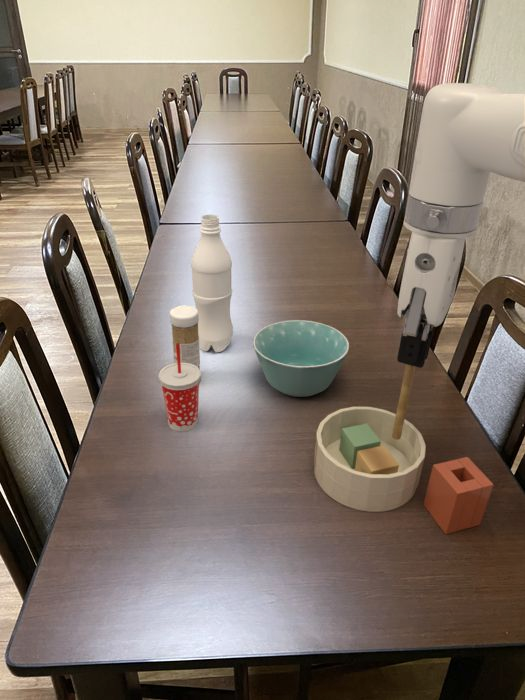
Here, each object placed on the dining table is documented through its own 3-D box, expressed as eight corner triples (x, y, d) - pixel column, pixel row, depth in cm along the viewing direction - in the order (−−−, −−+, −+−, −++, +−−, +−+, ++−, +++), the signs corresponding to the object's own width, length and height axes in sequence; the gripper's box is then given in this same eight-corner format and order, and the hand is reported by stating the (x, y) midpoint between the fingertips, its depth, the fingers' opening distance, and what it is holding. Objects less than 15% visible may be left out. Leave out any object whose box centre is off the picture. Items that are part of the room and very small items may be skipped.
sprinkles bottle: (173, 374, 94) (168, 305, 87) (199, 371, 95) (196, 303, 88) (176, 389, 90) (171, 318, 83) (203, 385, 91) (200, 315, 84)
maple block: (380, 467, 74) (384, 444, 72) (394, 487, 71) (399, 465, 69) (353, 472, 73) (357, 450, 71) (367, 494, 70) (371, 471, 68)
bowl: (235, 374, 95) (235, 333, 90) (306, 349, 102) (309, 311, 98) (287, 422, 83) (290, 378, 79) (363, 390, 91) (369, 349, 87)
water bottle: (194, 337, 105) (186, 211, 92) (230, 335, 106) (228, 210, 93) (196, 357, 99) (189, 225, 86) (235, 354, 100) (234, 223, 87)
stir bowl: (385, 430, 82) (390, 399, 79) (438, 498, 71) (447, 464, 67) (298, 449, 78) (301, 416, 75) (340, 523, 67) (345, 488, 64)
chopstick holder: (455, 496, 71) (467, 456, 67) (480, 525, 67) (493, 484, 63) (423, 504, 70) (433, 464, 66) (445, 534, 66) (457, 493, 62)
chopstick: (397, 433, 74) (421, 317, 64) (402, 438, 73) (427, 322, 63) (390, 434, 73) (412, 318, 64) (394, 440, 72) (418, 323, 63)
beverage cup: (160, 413, 85) (152, 336, 77) (198, 406, 86) (194, 330, 79) (166, 438, 80) (159, 358, 72) (207, 430, 81) (203, 351, 74)
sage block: (364, 444, 78) (367, 423, 76) (377, 463, 75) (381, 441, 73) (339, 450, 77) (341, 428, 75) (351, 468, 74) (354, 446, 72)
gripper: (466, 242, 50) (429, 402, 59) (488, 201, 61) (454, 340, 71) (386, 228, 52) (363, 383, 62) (422, 191, 64) (398, 326, 74)
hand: (412, 359), depth 66 cm, fingers closed on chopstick, 1 cm apart
